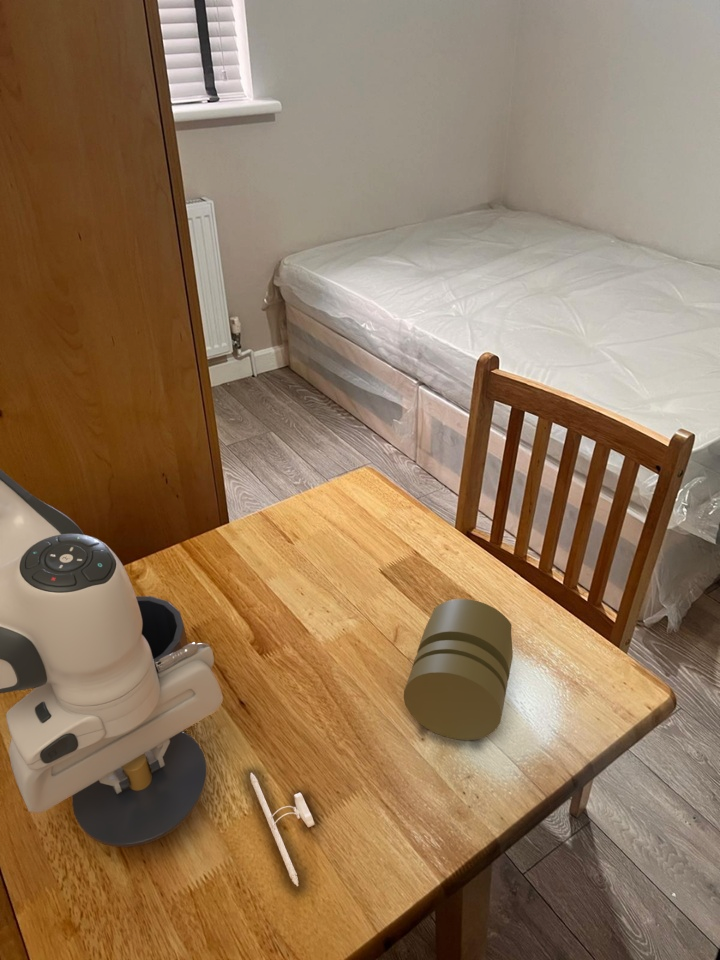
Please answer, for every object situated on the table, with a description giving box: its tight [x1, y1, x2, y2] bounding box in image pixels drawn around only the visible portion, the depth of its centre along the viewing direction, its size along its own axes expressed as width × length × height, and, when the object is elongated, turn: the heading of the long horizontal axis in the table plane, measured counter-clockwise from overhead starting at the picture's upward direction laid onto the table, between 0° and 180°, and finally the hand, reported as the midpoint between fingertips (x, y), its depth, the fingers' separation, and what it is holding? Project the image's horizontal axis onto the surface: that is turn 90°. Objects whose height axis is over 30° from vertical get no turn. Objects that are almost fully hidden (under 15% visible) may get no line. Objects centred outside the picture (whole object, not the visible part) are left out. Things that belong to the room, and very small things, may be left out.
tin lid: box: [71, 730, 208, 848], centre depth 75 cm, size 14×14×5 cm
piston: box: [403, 598, 514, 741], centre depth 88 cm, size 11×12×11 cm
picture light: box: [249, 772, 315, 887], centre depth 78 cm, size 14×4×2 cm, turn 26°
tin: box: [136, 595, 189, 662], centre depth 89 cm, size 13×13×12 cm
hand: (138, 775), depth 76 cm, fingers closed on tin lid, 2 cm apart
